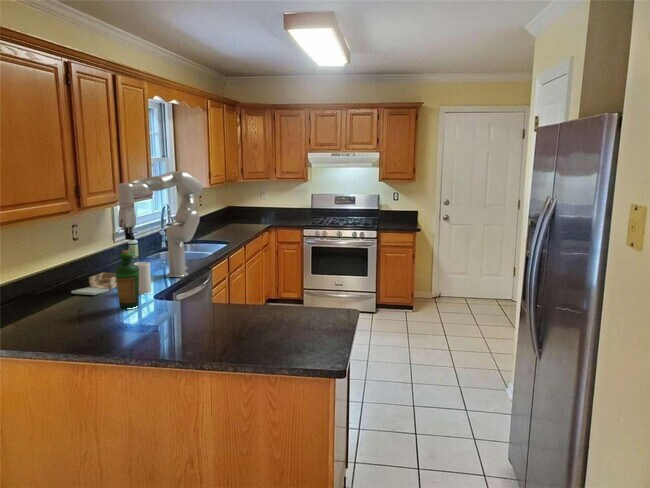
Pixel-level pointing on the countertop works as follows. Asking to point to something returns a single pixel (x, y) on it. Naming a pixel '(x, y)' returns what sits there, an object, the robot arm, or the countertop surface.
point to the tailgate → (90, 291)
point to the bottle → (127, 282)
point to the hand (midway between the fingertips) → (128, 239)
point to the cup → (144, 277)
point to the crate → (103, 281)
